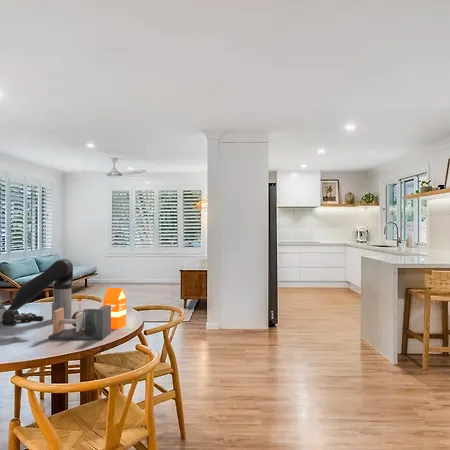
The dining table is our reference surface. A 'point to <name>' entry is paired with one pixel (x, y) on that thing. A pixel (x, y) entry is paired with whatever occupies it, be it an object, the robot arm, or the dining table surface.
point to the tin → (75, 317)
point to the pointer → (79, 319)
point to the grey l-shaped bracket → (89, 326)
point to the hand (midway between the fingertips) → (42, 318)
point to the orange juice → (116, 306)
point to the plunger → (60, 320)
